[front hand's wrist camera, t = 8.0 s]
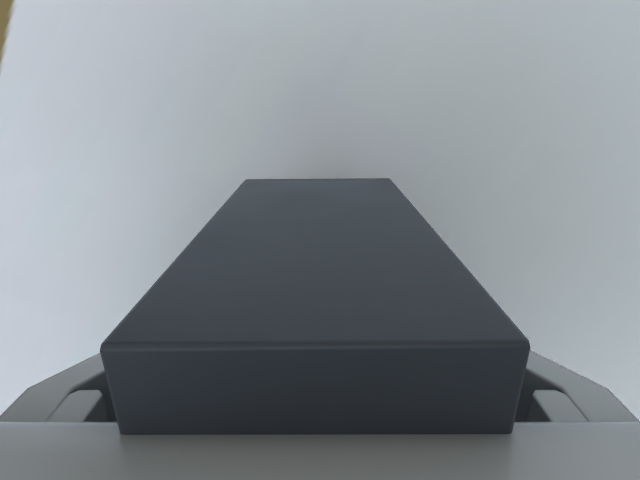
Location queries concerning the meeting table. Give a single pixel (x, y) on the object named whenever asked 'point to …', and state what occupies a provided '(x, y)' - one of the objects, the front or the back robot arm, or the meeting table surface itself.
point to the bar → (316, 325)
